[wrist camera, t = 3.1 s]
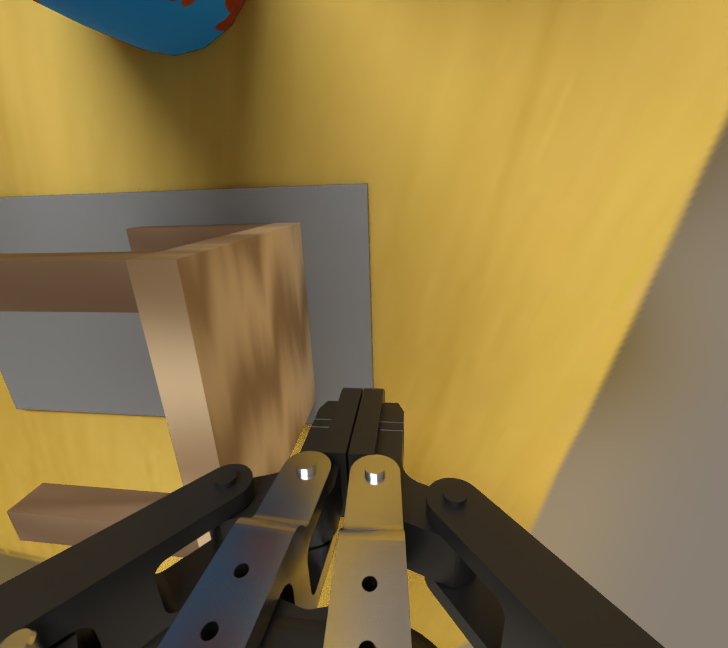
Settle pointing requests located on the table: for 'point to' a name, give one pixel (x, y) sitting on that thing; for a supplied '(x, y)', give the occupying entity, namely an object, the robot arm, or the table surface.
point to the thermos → (153, 21)
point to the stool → (185, 352)
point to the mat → (124, 330)
